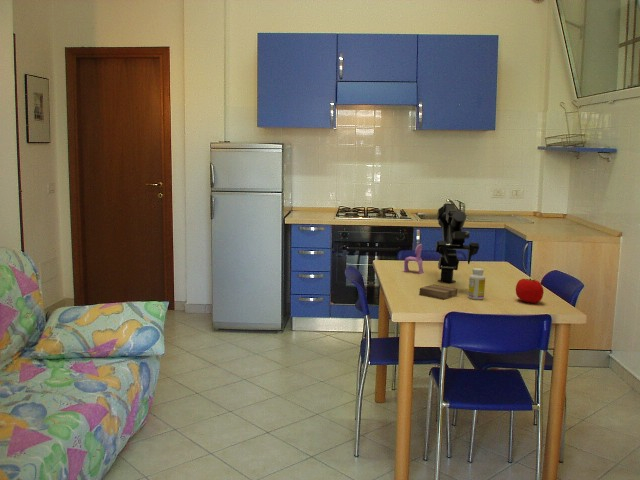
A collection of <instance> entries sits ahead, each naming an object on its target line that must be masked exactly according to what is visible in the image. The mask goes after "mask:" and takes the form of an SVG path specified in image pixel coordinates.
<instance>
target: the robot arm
mask: <svg viewBox="0 0 640 480" xmlns="http://www.w3.org/2000/svg"><path fill="white" fill-rule="evenodd" d="M436 220H437V221H438V223H437V224H438V226H440V227H441V232H442V233H441V235H442V240H437V241H436V244H435V247H434V248H435V252H436V253H438V254H440V256H439V260H438V261H437V268H438V270H441V272H440V279H437V282H441V283H445V284H451V283H452V284H453V283H456V280H454V271H458V269H459V265H460V264H459V263H460V260H459V257H458V254H457V250H459V251H460V250H463V251H467V265H470V263H471V259H472V256H475V255H477V254H478V252H479V250H480V243H478V242H474V241H473V242H469V243H468V244H469V245H466V244H465V241H466V239H467V240H468V239H469V238H470V231H469V230H464V231H463V227H464V225H465V221H466V220H467V214H466V213H464V211H462V209H459V208H458V209H457V208H456V207H455V203H447V202H446V203H443V205H442V206H441V207H440V208H438V210H437V213H436Z"/></svg>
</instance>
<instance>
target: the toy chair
mask: <svg viewBox="0 0 640 480" xmlns="http://www.w3.org/2000/svg"><path fill="white" fill-rule="evenodd" d="M422 249H423V244H422V243H419V244H418V245H417V246H416V247H415V251H414V254H415V255H416V256H415V257H414V256H408V257H405V259H404V262H403V266H404V267H403V272H404V273H406V272H409V271H410V269H409V261H413V262H416V263H417V265H418V275H422V274H423V273H424V268H423V260H422V257H421V254H422Z"/></svg>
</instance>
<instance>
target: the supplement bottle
mask: <svg viewBox="0 0 640 480" xmlns="http://www.w3.org/2000/svg"><path fill="white" fill-rule="evenodd" d="M484 271H485V269H483V268H480V267H479V268H478V267H475V268H472V269H471V272H472V273H471V274H470V275H469V279H468V280H469V281H468V282H469V283H468V294H467V295H468V298H469V299H472V300H483V299H484V298H485V287H486V276H485V275H484Z"/></svg>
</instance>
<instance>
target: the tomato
mask: <svg viewBox="0 0 640 480" xmlns="http://www.w3.org/2000/svg"><path fill="white" fill-rule="evenodd" d="M515 294H516V296H517V297H518V299H519V300H520V301H522V302H525V303H529V304H537V303H540V302H541V300H542V299H543V296H544V287H543V285H542V283H541V282H540V281H538V280H537V278H536V279H531V278H521V279H519V280H518V281H517V283H516V285H515Z"/></svg>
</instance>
